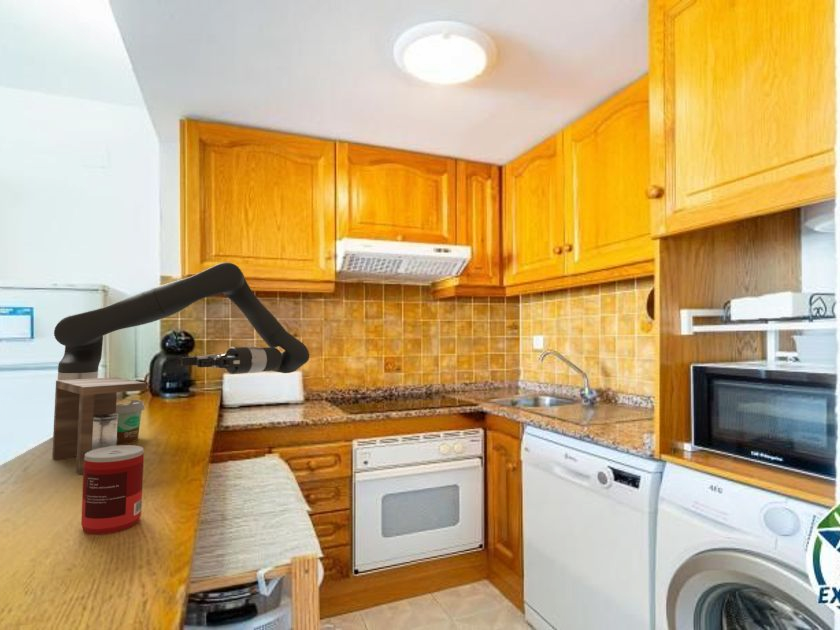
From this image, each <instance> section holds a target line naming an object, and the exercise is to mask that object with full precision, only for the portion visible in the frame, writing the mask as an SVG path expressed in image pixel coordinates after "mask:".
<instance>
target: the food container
mask: <svg viewBox="0 0 840 630" xmlns="http://www.w3.org/2000/svg"><path fill="white" fill-rule="evenodd" d="M144 410H145V404H144V403H143V401H142V400H140V399H131V401H130V402H129V403H124V404H116V414H118V420H117V442H116V445H124V444H130V443H132V442H136V441H138V439H139V435H140V434H139V433H140V426H141V417H142V411H144Z"/></svg>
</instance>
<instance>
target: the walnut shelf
mask: <svg viewBox="0 0 840 630" xmlns="http://www.w3.org/2000/svg"><path fill="white" fill-rule="evenodd" d="M147 384H148V383H147V382H143V381H139V380H138V381H137V380H133V379H127V378H121V377H117V376H115V377H98V378H93V379H75V380H58V379H57V380H55V392H54V393H55V395H54V413H53V414H54V415H53V434H52V436H53V437H52V452H51V454H52V457H51V459H52V460H54V461H55V460H61V459H62V460H63V459H67V458H72V457H76V464H75V466H76V467H75V468H76V469H75V473H76V474H77V475H83V469H84V458H85V454H86V453H87V452H89V451H91V450H92V437H93V415H96V414H105V413H116V405H117V396H118V393H124V392H125V393H126V392H128V393H129V392H141V391H147Z"/></svg>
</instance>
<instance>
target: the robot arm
mask: <svg viewBox="0 0 840 630" xmlns="http://www.w3.org/2000/svg"><path fill="white" fill-rule="evenodd" d="M219 294H223V295H224V296H226V298H228V299H229V300H231V302H232V303H234V304H235V306H237V308H238V309H239V310H240V311H241V313H243V315H244V316H245V317H246V319H247V321H248V322H249V324H250V325H251V326H252V328H253V329H254V330H255V331H256V333H257V334H258V335H259V337H260V338H261V339H262V340H263V341H264V342H265V344H266V345H267V346H268V347H265V346H264V347H258V346H231V347H229V348H228V349H227V350H226V352H225V353H215V354H204V355H194V356H185V357H184V356H183V357H181V358H180V366H184V367H185V366H196V367H197V368H214V369H225V370H226V371H227V373H229V374H231V375H239V374H242V375H243V374H253V373H260V372H269V371H270V372H271V371H273V372H276V373H282V374H290V373H294V372H296V371H297V370H298V369H300V368H301V367H303V366H304V365H306V364H307V362H308V361H309V360H310V351H309V349H308V347H307V346H306V345H305V344H304V342H303V341H302V342H301V340H299V339H298V338H296V337H295V336H294V335H292V334H290V333H289V331H287V330H286V329H285V328H284V326H283V325H282V324H281V322H280V321H279V320H278V319H277V317H275V316H274V315H273V314H272V313H271V311H270V310H269V309H267V308H266V306H265V305H264V304H263V303H262V302H261V301H260V299H258V297H257V295H255V293H254V292H253V291H252V289H251V287H250V285H249V283H248V282H247V280H246V279H245V275H244V273H243V271H242V270H241V269H240V267H239V266H237V265H236V264H234V263H231V262H220V263H217V264H215V265H213V266H211V267H209V268H207V269H205V270H203V271H200V272H198V273H195V274H194V275H192V276H188V277H185V278H182V279H178V280H174V281H170V282H168V283H164V284H160V285H158V286H155V287H152V288H148V289H146V290H143V291H139V292H138V293H135V294H132V295H129V296H127V297H125V298H123V299H120V300H118V301H115V302H113V303H111V304H109V305H105V306H102V307H99V308H96V309H93V310H88V311H83V312H80V313H75V314H72V315H68V316H66V317H64V318H62V319H61V320H59V321H58V323H57V324H56V325H55V327H54V331H53V336H54V339H55V340H56V341H57V342H58V343H59V344H60V345H62V346H64V354H63V357H62V358H61V360H60V361H59V362H58V365H57V367H58V368H57V372H58V373H57V380H75V379H93V378H99V366H100V363H101V360H102V353H103V343H104V342H103V341H104V336H105V335H108V334H110V333H113V332H116V331H120V330H123V329H129V328H132V327H133V328H134V327H138V326H141V325H146V324H150V323H154V322H156V321H160V320H163V319H165V318H168V317H171V316H173V315H174V314H178V313H179V312H180V311H183V310H184V309H186V308H188V307H189V306H191V305H192V304H195V303H196V302H198V301H200V300H202V299H206V298H209V297H212V296H216V295H219ZM278 347H279V348H280V349H282V350H284V351H282V352H281V351H280V350H279V349H278Z"/></svg>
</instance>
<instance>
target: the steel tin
mask: <svg viewBox="0 0 840 630" xmlns="http://www.w3.org/2000/svg"><path fill="white" fill-rule="evenodd" d="M117 420H118V414H116V413H105V414H96V415H93V437H92V450H95V449H98V448H103V447H109V446H117V444H116V442H117Z"/></svg>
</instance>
